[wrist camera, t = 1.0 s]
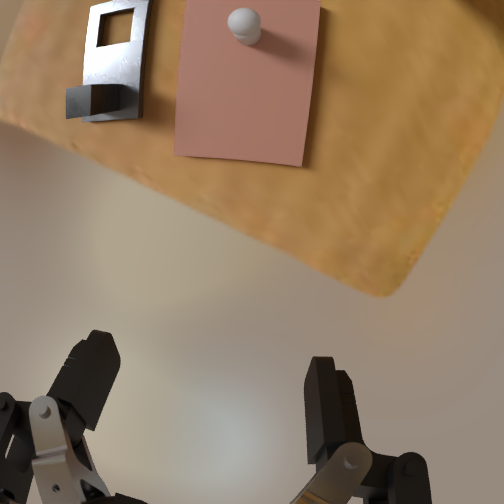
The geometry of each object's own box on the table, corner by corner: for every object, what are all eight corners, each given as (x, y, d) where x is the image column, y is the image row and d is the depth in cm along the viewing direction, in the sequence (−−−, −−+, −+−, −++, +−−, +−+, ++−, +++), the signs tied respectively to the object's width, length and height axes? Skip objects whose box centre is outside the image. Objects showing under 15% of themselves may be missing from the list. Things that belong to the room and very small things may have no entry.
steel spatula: (96, 8, 20) (61, -4, 14) (153, -4, 20) (125, -24, 14) (87, 121, 27) (50, 131, 21) (142, 117, 27) (110, 125, 21)
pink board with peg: (190, -3, 20) (167, -29, 14) (318, 5, 20) (334, -22, 14) (178, 152, 29) (151, 171, 23) (300, 163, 29) (310, 184, 23)
